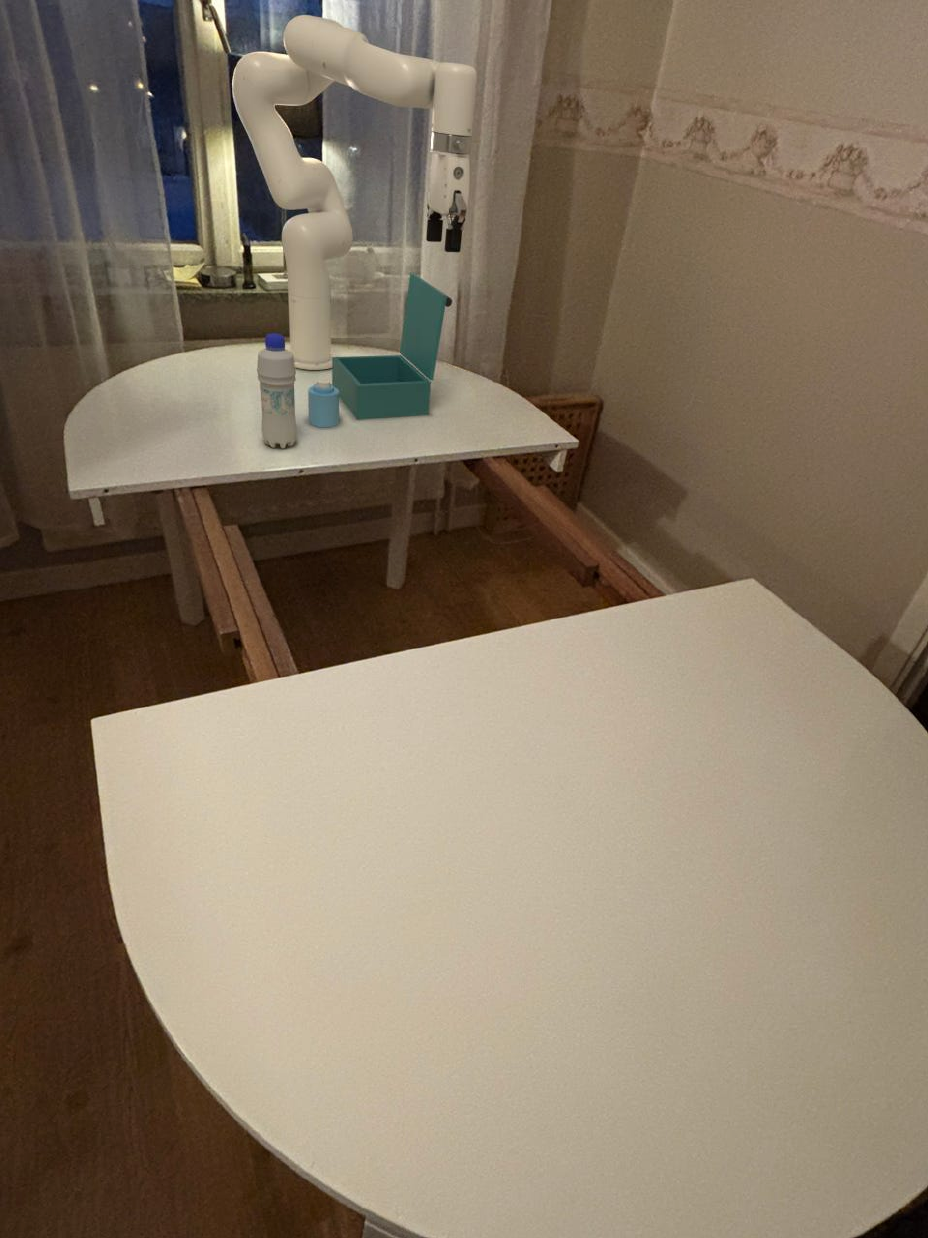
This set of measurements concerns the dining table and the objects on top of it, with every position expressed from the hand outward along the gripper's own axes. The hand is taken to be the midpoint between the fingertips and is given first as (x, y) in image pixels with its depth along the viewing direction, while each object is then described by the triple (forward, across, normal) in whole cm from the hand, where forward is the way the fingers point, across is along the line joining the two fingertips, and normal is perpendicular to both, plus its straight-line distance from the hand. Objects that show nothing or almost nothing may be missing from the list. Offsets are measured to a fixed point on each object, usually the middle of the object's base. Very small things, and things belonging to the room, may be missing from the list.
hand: (442, 246), depth 148 cm
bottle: (+31, -18, +38) cm, 52 cm away
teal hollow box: (+31, 0, +12) cm, 33 cm away
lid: (+15, 0, +4) cm, 16 cm away
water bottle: (+31, -9, +27) cm, 42 cm away
